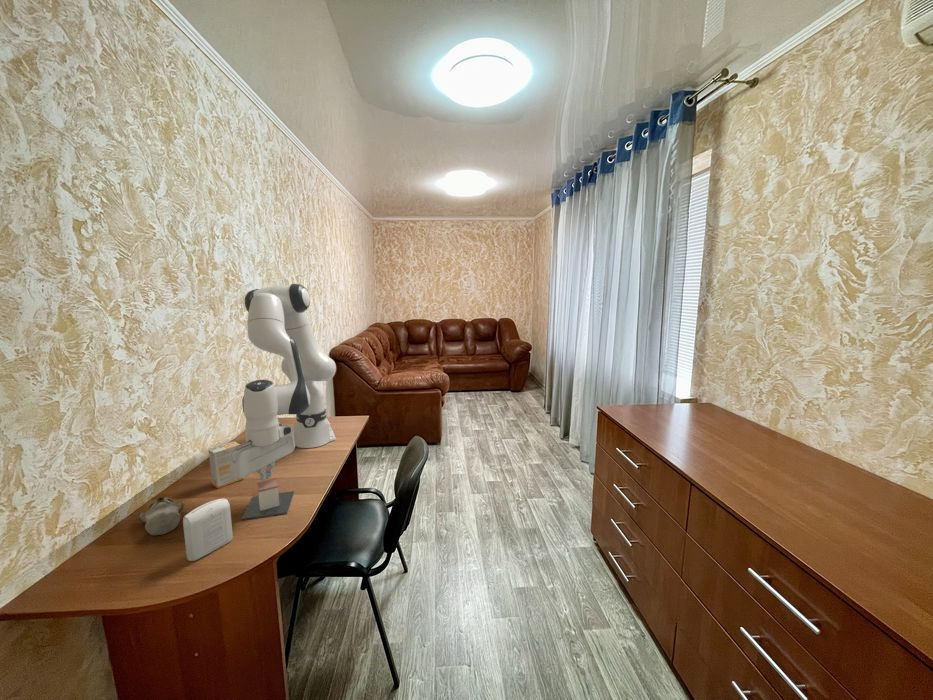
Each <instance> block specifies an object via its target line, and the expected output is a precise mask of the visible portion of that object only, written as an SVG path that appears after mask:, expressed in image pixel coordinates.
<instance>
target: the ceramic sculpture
mask: <svg viewBox="0 0 933 700" xmlns="http://www.w3.org/2000/svg"><path fill="white" fill-rule="evenodd" d="M184 507H185V503H183V502H182V501H181V500H179V501H178V502H176V501H175V500H174V499H173V498H171V497H159V498H157V499H156V500H155V499H154V500H153V501H152V502H151V503H149V504H148V506H147V508H146V511H145V512H141V511H140V512H139V513H138V516H137V517H136V519H137V521H138V522H139V523H141V524H145V525H144V529H145V531H146V532H147V533H148V534H150V535H151V536H160V535H161V536H162V535H166V534H168V533H169V532H171V531H174V530H175V529H176V528H177V527H178V525H179V524H180V522H181V514H180V512H182V511H183V509H184Z"/></svg>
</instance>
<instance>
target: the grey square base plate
mask: <svg viewBox="0 0 933 700" xmlns="http://www.w3.org/2000/svg"><path fill="white" fill-rule="evenodd" d="M294 494H295V491H294V490H291V491H284V492H283V491H282V492H279V506H276V507H273V508H269V509H265V510H262V511H260V506H259V496H258V495H254V496H253V495H252V497H251V500H250V501H249V503H248V505H247V507H246V510H245V511H244V513H243V514H242V517H241V521H246V520H252V519H254V520H255V519H259V518H267V517H272V516H274V517H275V516H280V515H287V514H288V512H289V510H290V506H291V503H292V500H293V497H294Z"/></svg>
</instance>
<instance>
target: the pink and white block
mask: <svg viewBox="0 0 933 700" xmlns="http://www.w3.org/2000/svg"><path fill="white" fill-rule="evenodd" d="M256 484H257V494H258V495H257V496H259V506H260V511H262V510H265V509H269V508H273V507H276V506H279V493H280V492H279V483H278V481H277V478H273V479H268V480H267V479H266V480H262V481H259V482H257V483H256Z"/></svg>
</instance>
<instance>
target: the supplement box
mask: <svg viewBox="0 0 933 700" xmlns="http://www.w3.org/2000/svg"><path fill="white" fill-rule="evenodd" d="M238 445H241V443H238V442H236V441H231V442H227V443H224V444H221V445H218V446H214V447H211V448H208V457H209V467H210V473H211V474H210V475H211V484H212V485H213V486H214V487H215V488H217V489H221V488H224V487H226V486H229V485H231V484H234V483H237V482H239V481H241V480H244V478H245V477H244V478H242V479H239V478H235V477H233V476H231V474H230V463H231V452H232V451H233V450H234V449H235V447H236V446H238Z"/></svg>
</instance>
